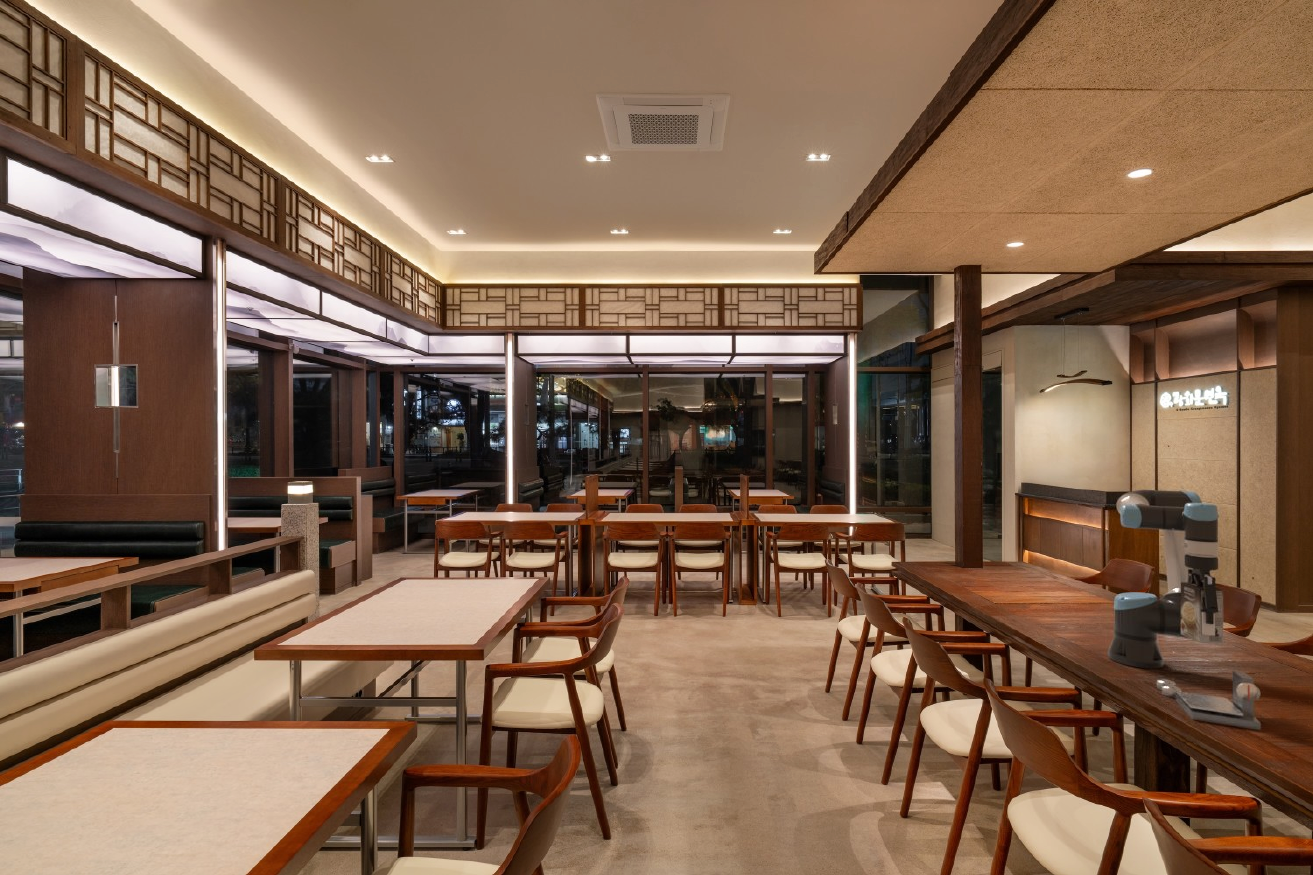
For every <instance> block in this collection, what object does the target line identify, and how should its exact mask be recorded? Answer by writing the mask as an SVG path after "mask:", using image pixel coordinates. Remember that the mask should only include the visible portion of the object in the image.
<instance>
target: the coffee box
mask: <svg viewBox="0 0 1313 875" xmlns="http://www.w3.org/2000/svg"><path fill="white" fill-rule="evenodd" d="M1216 596H1217V604H1218V612H1216V613H1215V636H1213V635H1204V634H1202V612H1201V611H1200V610H1201V609H1203V606H1202V597H1204V589H1203V588H1200V587H1197V586H1196V584H1195V583H1194V584H1192V583H1189V582H1181V634H1182V635H1184V636H1186V637H1188V638H1187V639H1189V638H1190V640H1193V641H1195V642H1197V643H1199V644H1212V645H1213V644H1214V645H1224V589H1222V588H1219V587H1216Z"/></svg>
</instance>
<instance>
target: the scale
mask: <svg viewBox="0 0 1313 875" xmlns="http://www.w3.org/2000/svg"><path fill="white" fill-rule="evenodd" d="M1254 682H1255V679H1254V678H1253V677H1252V676H1250V675H1249V674H1247V673H1246V672H1245V671H1239V670H1232V700H1231V701H1230V700H1229V699H1228V698H1226V697H1221V696H1216V695H1208V694H1200V693H1194V692H1186V691H1181V692H1180V691H1177V693H1178V694H1177V693H1176V698H1175V701H1176V702H1177V703H1178V705H1179V706H1180V707H1181V708H1182V709H1183V710H1184V711H1185V713H1186V714H1187V715H1188V716H1189V718H1191V719H1192V720H1194V721H1201V722H1207V723H1212V724H1213V723H1214V724H1218V725H1219V724H1220V725H1223V726H1224V725H1225V726H1231V727H1236V728H1237V727H1238V728H1243V729H1244V728H1245V729H1251V730H1255V731H1256V730H1257V731H1261V730H1262V729H1261V728H1262V727H1261V726H1262V725H1261V722H1260V721H1259V719H1257V718H1256V717H1255V701H1257V700H1259V698H1260V697H1261V691H1260V688H1258V686H1257V685H1255V683H1254Z"/></svg>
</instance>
